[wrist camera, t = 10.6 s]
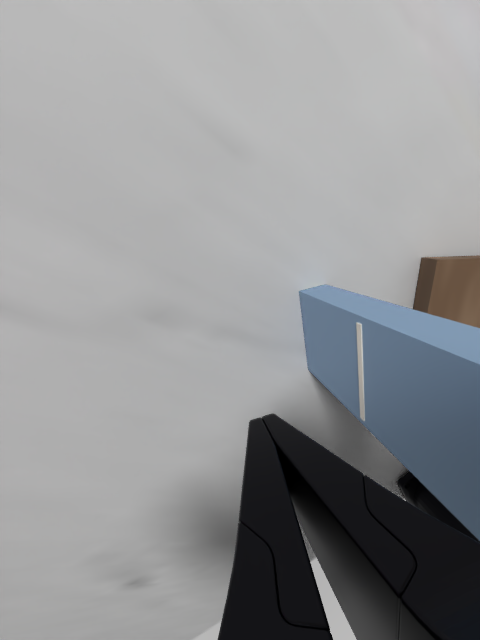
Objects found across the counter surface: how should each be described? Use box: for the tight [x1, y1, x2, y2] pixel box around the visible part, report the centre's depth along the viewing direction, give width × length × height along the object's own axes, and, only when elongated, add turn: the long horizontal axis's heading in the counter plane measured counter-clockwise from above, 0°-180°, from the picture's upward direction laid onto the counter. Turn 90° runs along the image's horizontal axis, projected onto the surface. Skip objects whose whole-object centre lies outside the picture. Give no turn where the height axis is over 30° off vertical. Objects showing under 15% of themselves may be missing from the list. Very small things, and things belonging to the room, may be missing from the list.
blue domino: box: [299, 285, 480, 541], centre depth 10 cm, size 2×5×10 cm, turn 12°
